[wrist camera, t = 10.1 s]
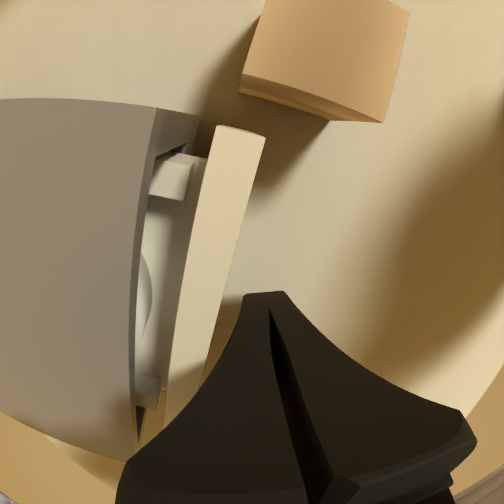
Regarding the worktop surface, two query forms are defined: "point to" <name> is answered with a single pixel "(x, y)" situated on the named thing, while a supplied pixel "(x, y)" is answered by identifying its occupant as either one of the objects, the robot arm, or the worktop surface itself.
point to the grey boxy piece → (76, 263)
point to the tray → (190, 260)
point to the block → (327, 57)
